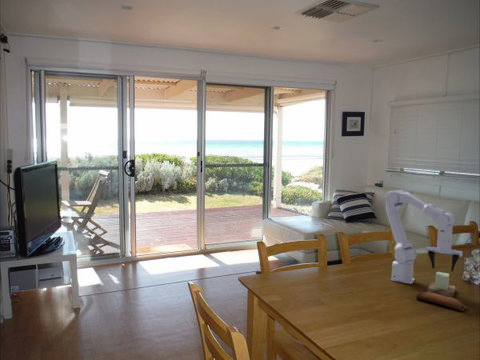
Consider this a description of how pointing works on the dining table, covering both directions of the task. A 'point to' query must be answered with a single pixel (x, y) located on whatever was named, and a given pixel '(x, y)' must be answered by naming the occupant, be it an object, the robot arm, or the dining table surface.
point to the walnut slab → (441, 290)
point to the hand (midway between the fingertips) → (442, 269)
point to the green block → (442, 280)
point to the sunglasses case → (441, 300)
